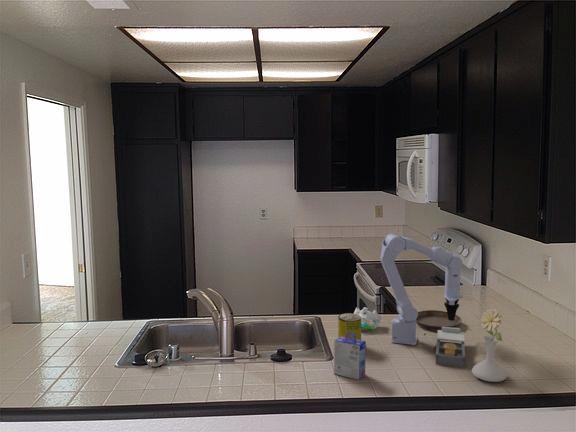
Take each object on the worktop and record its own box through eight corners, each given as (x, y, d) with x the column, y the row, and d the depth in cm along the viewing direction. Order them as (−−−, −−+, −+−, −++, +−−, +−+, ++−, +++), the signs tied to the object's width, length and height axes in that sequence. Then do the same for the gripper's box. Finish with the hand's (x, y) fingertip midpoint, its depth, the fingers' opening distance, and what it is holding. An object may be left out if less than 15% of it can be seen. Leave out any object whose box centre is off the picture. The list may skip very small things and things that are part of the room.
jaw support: (345, 323, 220) (351, 304, 226) (350, 333, 227) (355, 314, 232) (373, 327, 215) (378, 308, 221) (376, 337, 221) (381, 318, 227)
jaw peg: (443, 362, 187) (443, 347, 186) (443, 358, 191) (443, 342, 190) (456, 364, 186) (456, 348, 185) (455, 359, 190) (456, 343, 189)
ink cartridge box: (366, 374, 178) (366, 334, 176) (359, 380, 173) (360, 339, 172) (340, 368, 183) (340, 329, 181) (333, 374, 179) (333, 334, 177)
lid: (437, 339, 199) (437, 334, 199) (437, 331, 208) (438, 326, 208) (464, 342, 196) (464, 336, 196) (463, 333, 205) (464, 328, 205)
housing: (435, 364, 186) (435, 354, 185) (437, 345, 203) (437, 337, 202) (464, 367, 183) (465, 358, 182) (463, 348, 200) (464, 339, 199)
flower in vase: (467, 370, 180) (469, 301, 177) (499, 370, 180) (503, 301, 177) (479, 387, 167) (482, 313, 164) (515, 387, 167) (518, 313, 164)
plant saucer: (460, 335, 215) (460, 327, 214) (410, 329, 222) (410, 322, 221) (461, 319, 234) (462, 312, 233) (415, 315, 241) (415, 308, 240)
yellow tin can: (365, 345, 204) (365, 316, 202) (352, 352, 197) (352, 322, 196) (347, 340, 210) (347, 311, 208) (333, 346, 203) (333, 317, 202)
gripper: (463, 290, 198) (461, 324, 200) (463, 280, 212) (462, 312, 213) (443, 288, 200) (443, 322, 202) (445, 279, 214) (444, 311, 216)
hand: (451, 317), depth 208 cm, fingers open, 7 cm apart
